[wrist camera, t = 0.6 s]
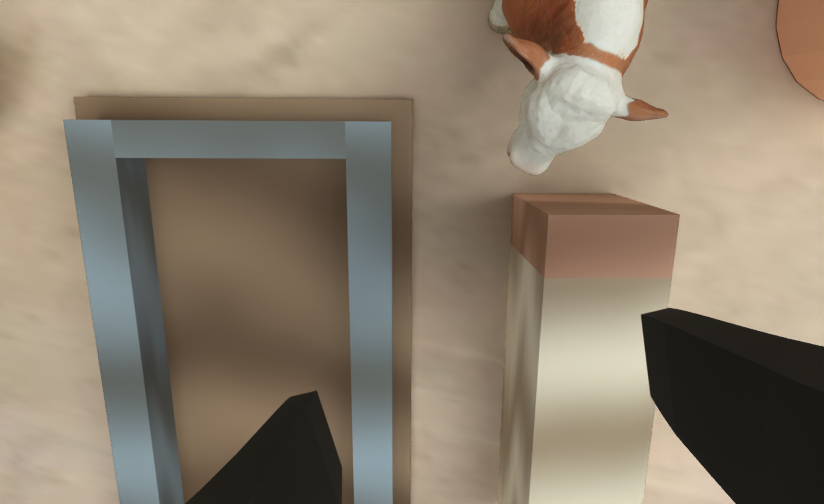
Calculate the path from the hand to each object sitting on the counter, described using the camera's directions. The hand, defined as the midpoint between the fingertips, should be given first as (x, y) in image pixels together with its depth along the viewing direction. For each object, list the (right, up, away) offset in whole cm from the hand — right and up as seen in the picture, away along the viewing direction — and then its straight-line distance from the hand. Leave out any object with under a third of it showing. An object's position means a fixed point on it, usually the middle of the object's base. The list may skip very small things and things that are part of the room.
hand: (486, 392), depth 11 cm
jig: (-8, -1, +11) cm, 13 cm away
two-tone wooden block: (+4, -1, +11) cm, 12 cm away
